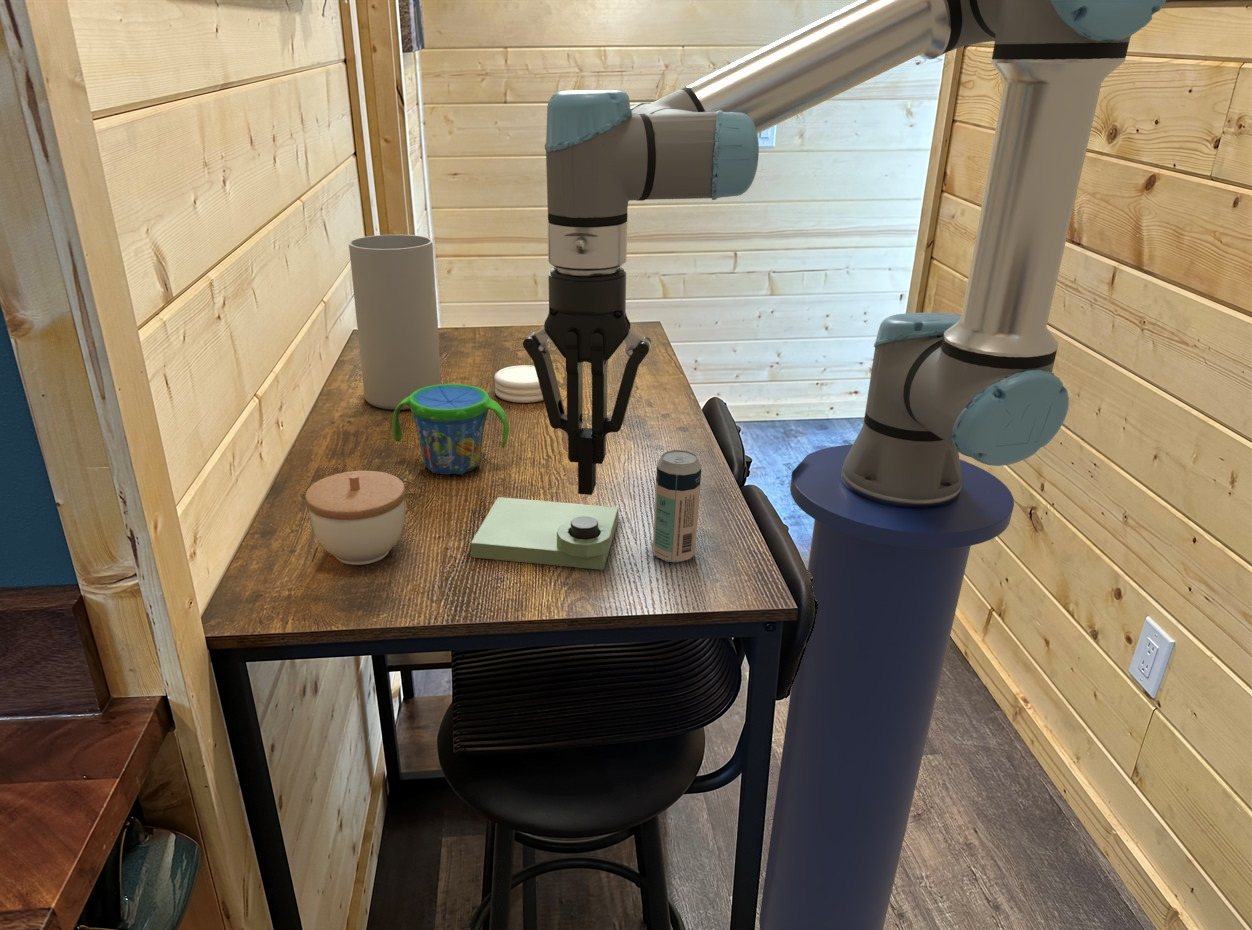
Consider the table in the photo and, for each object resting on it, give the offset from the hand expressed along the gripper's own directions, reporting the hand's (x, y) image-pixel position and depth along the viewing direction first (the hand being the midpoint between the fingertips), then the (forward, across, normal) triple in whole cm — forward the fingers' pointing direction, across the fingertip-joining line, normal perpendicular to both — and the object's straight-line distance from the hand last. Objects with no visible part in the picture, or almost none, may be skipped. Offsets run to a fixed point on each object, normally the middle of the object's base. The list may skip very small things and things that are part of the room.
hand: (587, 488), depth 98 cm
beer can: (+9, +9, +3) cm, 13 cm away
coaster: (+9, -19, +53) cm, 57 cm away
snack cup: (+9, -22, +22) cm, 32 cm away
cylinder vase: (+9, -38, +47) cm, 61 cm away
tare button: (+6, 0, 0) cm, 6 cm away
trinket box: (+9, -25, -3) cm, 27 cm away
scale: (+9, -5, +4) cm, 11 cm away
